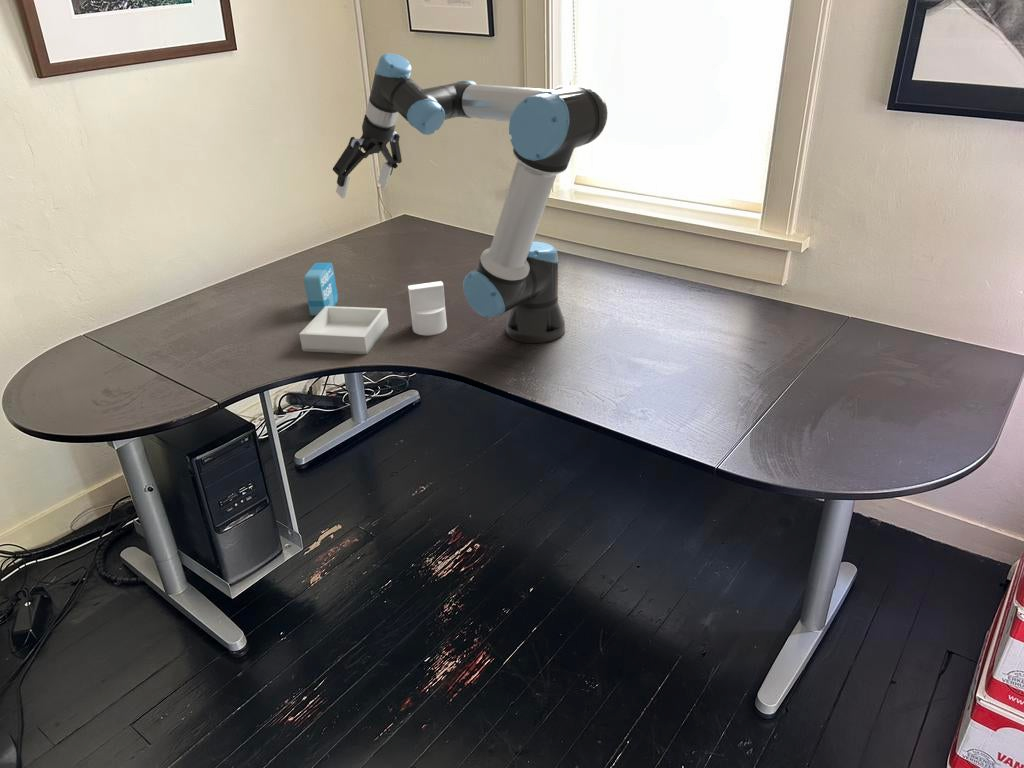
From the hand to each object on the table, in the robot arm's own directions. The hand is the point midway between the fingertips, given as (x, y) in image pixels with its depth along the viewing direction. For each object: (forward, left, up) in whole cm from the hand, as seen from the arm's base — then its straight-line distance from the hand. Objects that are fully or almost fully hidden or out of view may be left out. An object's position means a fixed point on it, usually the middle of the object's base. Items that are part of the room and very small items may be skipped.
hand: (361, 189), depth 194 cm
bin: (+1, +21, -33) cm, 39 cm away
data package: (+14, +4, -33) cm, 36 cm away
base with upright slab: (-19, +13, -33) cm, 40 cm away
